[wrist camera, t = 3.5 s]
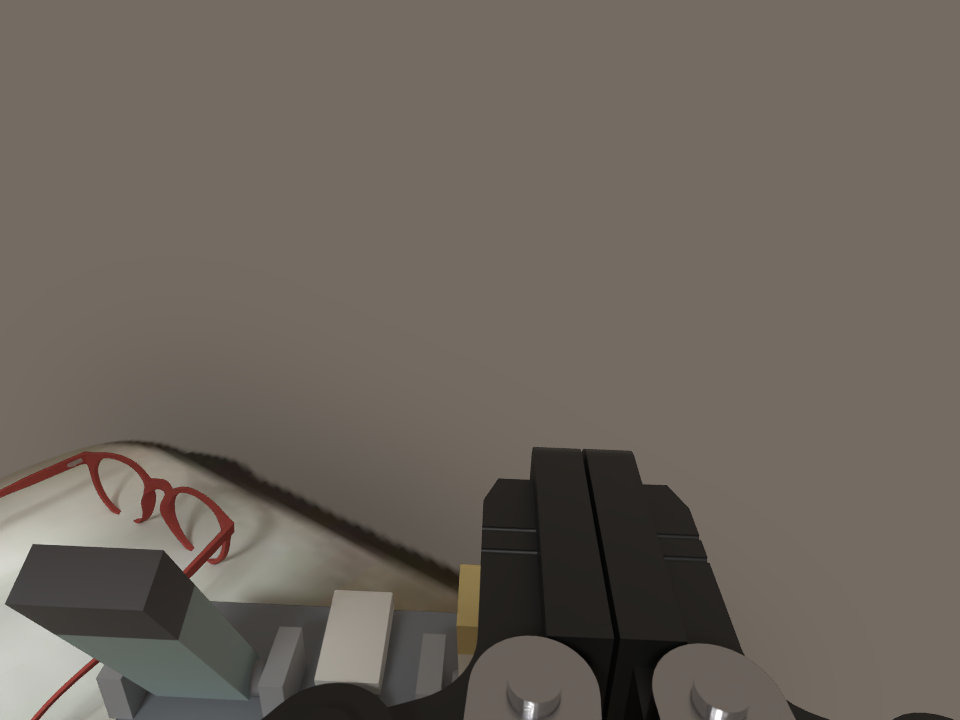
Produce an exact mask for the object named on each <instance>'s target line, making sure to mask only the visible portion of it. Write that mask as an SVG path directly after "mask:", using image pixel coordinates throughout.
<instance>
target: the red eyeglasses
mask: <svg viewBox="0 0 960 720" xmlns="http://www.w3.org/2000/svg"><path fill="white" fill-rule="evenodd" d="M103 458H111V459H116V460H119V461H121V462H123V463H125V464H127V465H129V466H130V467H132V468H133V469H134V470H135V471H136V472H137V473H138V474H139V476H140V477H141V479H142V480H143V482H144V487H145V488H144V494H143V497H142V500H141V505H142V511H143V516H142V518H140V519H136V520H133V521H134V522H136V523H140V522H143V521H145V520H147V519H148V518H149V517H150V516H151V515H152V513H153V510H154V507H155V502H156V493H155V490H156V489H161V490H163V491H164V493H165V496H164V498H163V500H162V501H161V504H160V513H161V515H162V517H163V519H164V520H165V522H166V524H167V525H168V527H169V528H170V530H171V531H172V532H173V534H174V535H175V536H176V538H177V539H178V540H179V541H180V542H181V543H182V545H183V546H184V547H185V548H186V549H188V550H190V551H192V550H193V549H194V547H193V546H192V545H191V543H190V542H189V541H188V540H187V538H186V537H185V535H184V533H183V532H182V530H181V528H180V525H179V523H178V520H177V517H176V513H175V499H176V496H177V495H178V494H179V493H188V494H191V495H193V496H195V497H197V498H198V499H200V500H201V501H203V502H204V503H205V504H206V505H207V506H208V507H209V508H210V509H211V510H212V511H213V512H214V514H215V515H216V517H217V519H218V521H219V524H220V527H221V532H220V533H218V535H217V536H216V537H215V538H214V539H213V540H212V541H211V542H210V543H209V544H208V545H207V546H206V547H205V549H204V550H203V551H202V552H201V553H200V554H199V555H198V556H197V557H196V558H195V559H194V560H193V561H192V562H191V563H190V564H189V565H188V567H187V568H186V569H185V570H184V571H183V572H184V573H185V575H186V576H187V577H188V578H190V577H191V576H192V575H193V574H194V573H195V572H196V571H197V570H198V569H199V568H200V567H201V566H202V565H203V564H204V563H205V562H206V561H208V562H209V563H211V564H216V563H219V562H220V561H222V560H224V559H225V558H226V556H227V554H228V551H229V547H230V540H231V535H232V534H233V533H234V522H233V521H232V520H231V519H230V518H229V517H228V516H227V515H226V514H225V513H224V512H223V511H222V509H221V508H220V507H219V506H218V505H217V504H216V503H215V502H213V501H212V500H211V499H210V498H208V497H207V496H206V495H204V494H203V493H201V492H199V491H197V490H195V489H193V488H190V487H178V488H174V489H173V488H172V486H171V485H170V483H169V482H168V481H166V480H164V479H155V478H150V476H149V475H148V474H147V473H146V472H145V470H144V469H143V468H142V467H141V466H140V465H138V464H137V463H136V462H134V461H133V460H131V459H129V458H127V457H124V456H122V455H118V454H114V453H107V452H83V453H80V454H78V455H75V456H73V457H71V458H68V459H66V460H64V461H61V462H59V463H57V464H55V465H52V466H50V467H48V468H45V469H43V470H41V471H38V472H36V473H34V474H31V475H29V476H27V477H25V478H23V479H21V480H19V481H17V482H15V483H13V484H11V485H9V486H7V487H5V488H3V489H1V490H0V498H1V497H3V496H5V495H8V494H10V493H12V492H15V491H18V490H20V489H23V488H26V487H28V486H31V485H33V484H36V483H38V482H40V481H43V480H45V479H47V478H50V477H52V476H54V475H57V474H59V473H61V472H64V471H66V470H69V469H71V468H73V467H76V466H78V465H81V464H87V465H88V467H89V471H90V474H91V478H92V481H93V484H94V486H95V489H96V491H97V493H98V495H99V496H100V498H101V499H102V501H103V502H104V503H105V505H106V506H107V507H108V508H109V509H110V510H111V511H112V512H113V513H116V514H120V512H121V511H120V510H119V509H118V508H117V507H116V506H115V505H114V504H113V503H112V502H111V501H110V499H109V498H108V497H107V495H106V493H105V491H104V489H103V487H102V485H101V482H100V479H99V475H98V466H99V463H100V461H101V460H102V459H103ZM221 545H222V549H221V552H220V555H219V556H218V558H217V559H209V558H210V557H211V556H212V555H213V554H214V553H215V552H216V551H217V550H218V548H219V547H220V546H221ZM208 559H209V560H208ZM99 662H100V661H98V660H96V659H95V658H93V659H92V660H91V661H90V662H89V663H88V664H87V665H85V666H84V667H83V668H82V669H81V670H80V671H79V672H77V673H76V674H75V675H74V676H73V677H72V678H71V679H70V680H69V681H68V682H66V683H65V684H64V685H63V686H62V687H61V688H60V689H59V690H58V691H57V692H56V693H55V694H54V695H53V696H52V697H51V698H50V699H49V700H48V701H47V702H46V703H45V704H44V705H43V707H42V708H41V709H40V710H39V711H38V712H37V713H36V714H35V715H34V717H33V718H32V719H31V720H39V719H40V718H41V717H42V716H43V714H44V713H45V712H46V711H47V710H48V709H49V708H50V706H51V705H52V704H53V703H54V702H55V701H56V700H57V699H58V698H59V697H60V696H61V695H62V694H63V693H64V692H65V691H67V690H68V689H69V688H70V687H71V686H72V685H73V684H74V683H75V682H77V681H78V680H79V679H80V678H81V677H82V676H83V675H85V674H86V673H87V672H88V671H89V670H91V669H92V668H93V667H94V666H95V665H96V664H98V663H99Z"/></svg>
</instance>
